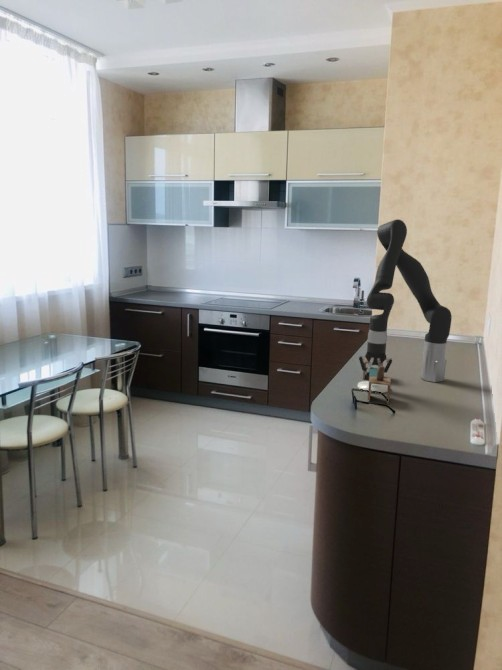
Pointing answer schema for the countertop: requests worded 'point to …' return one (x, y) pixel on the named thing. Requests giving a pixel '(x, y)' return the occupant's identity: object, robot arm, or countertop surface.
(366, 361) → the brown forked piece
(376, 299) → the robot arm
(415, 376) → the countertop surface
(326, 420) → the countertop surface
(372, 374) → the block
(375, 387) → the saucer
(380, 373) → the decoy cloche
